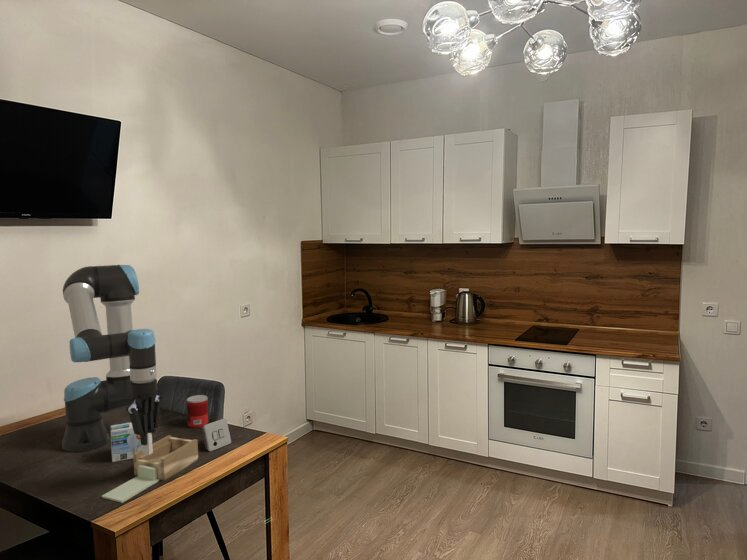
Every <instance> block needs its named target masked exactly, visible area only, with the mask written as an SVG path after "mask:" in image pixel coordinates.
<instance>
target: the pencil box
mask: <svg viewBox="0 0 747 560" xmlns="http://www.w3.org/2000/svg"><path fill="white" fill-rule="evenodd" d="M198 443H199V442H198V438H197V439H196V438H194V439H189V438H187V439H186V438H179V437H174V436H172V435H170V434H168V435H166V436H165V437H163V438H160V439H159V440H157V441H154V442H152V445H153V453H152V454H150V455H147V454H143V452H142V450H140V451H138V452H136V453H134V454H133V458H132V459H133V474H134V476H135V477H137V476H138V466H139V465H145V466H149V467H154V468H156V469H157V479H159V481H162V482H165V481H167V480H169V479H170V478H172V477H173V476H174V475H176V474H178V473H179V472H182V470H185V469H186V468H187V467H189V466H191V465H192V464H194V463H195V462H197V461H198V460H199V448H198V445H199V444H198Z"/></svg>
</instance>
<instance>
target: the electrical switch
mask: <svg viewBox="0 0 747 560" xmlns="http://www.w3.org/2000/svg"><path fill="white" fill-rule="evenodd" d="M200 430H201V435H202V440H203V442H204V448H205V450H207V452H213V451H215V450H218V449H220V448H223V447H225V446H228V445H231V444H232V439H231V433H230V430H229V425H228V420H227V419H226V418H222V419H219V420H215V421H213V422H208V424H206V425H204V427H201V428H200Z"/></svg>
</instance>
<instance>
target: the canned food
mask: <svg viewBox="0 0 747 560" xmlns="http://www.w3.org/2000/svg"><path fill="white" fill-rule="evenodd" d="M208 399H209V398H208V396H207V395H205V394H197V395H191V396H190V397H187V399H186V412H187V413H186V415H187V426H188V428H190V429H199V428H200V429H201V427H204V425H206V424H209V423H210V421H209V420H210V419H209V400H208Z"/></svg>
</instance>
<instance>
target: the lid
mask: <svg viewBox="0 0 747 560" xmlns="http://www.w3.org/2000/svg"><path fill="white" fill-rule="evenodd" d="M159 481H160V480H159V479H157V469H156V468H154V467H149V466H145V465H139V466H138V476H135V477H133V478H131V479H129V480H128V481H126V482H124V483H121V484H120V485H118V486H117V487H115V488H113V489H111V490H109V491H108V492H106V493H104V494H102V495H101V499H105V500H110V501H114V502H118V503H121V504H123V503H125V502H126V501H128V500H130V499H131V498H133V497H134V496H136V495H137V494H140V493H141V492H143V491H145V490H146V489H148V488H149V487H151V486H153V485H155V484H156V483H158V482H159Z"/></svg>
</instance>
